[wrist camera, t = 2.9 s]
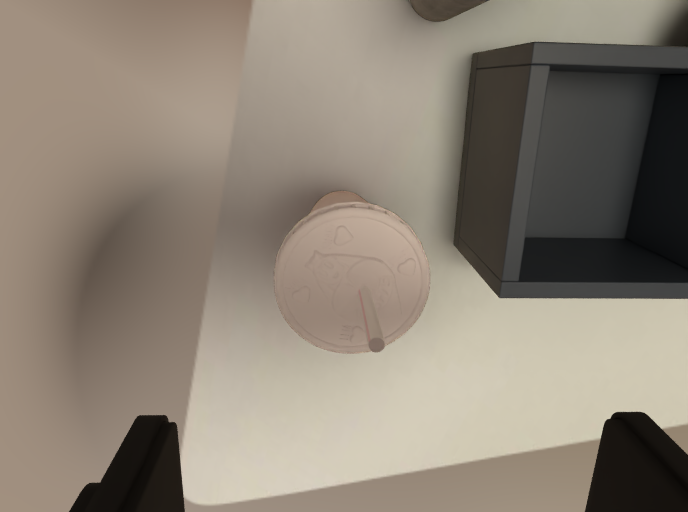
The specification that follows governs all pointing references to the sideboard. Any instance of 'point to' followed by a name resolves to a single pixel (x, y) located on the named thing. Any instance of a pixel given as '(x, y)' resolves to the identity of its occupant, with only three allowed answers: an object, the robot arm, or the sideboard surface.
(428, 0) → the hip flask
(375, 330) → the smoothie
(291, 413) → the sideboard surface
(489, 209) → the bin
